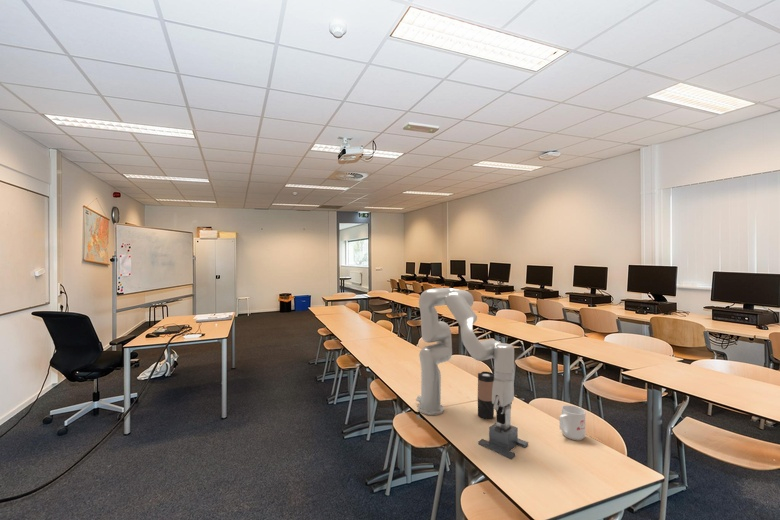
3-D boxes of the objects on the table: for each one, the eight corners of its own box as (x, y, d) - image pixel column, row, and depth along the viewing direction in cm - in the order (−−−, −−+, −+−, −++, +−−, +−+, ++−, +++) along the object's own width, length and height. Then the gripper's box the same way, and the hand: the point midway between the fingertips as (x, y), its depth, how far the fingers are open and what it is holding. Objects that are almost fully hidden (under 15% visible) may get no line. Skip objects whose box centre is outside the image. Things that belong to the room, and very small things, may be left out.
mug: (571, 428, 149) (571, 403, 149) (590, 438, 141) (590, 412, 141) (551, 434, 144) (551, 408, 144) (569, 444, 136) (570, 417, 136)
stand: (478, 444, 136) (478, 424, 136) (496, 432, 146) (496, 413, 146) (511, 459, 126) (511, 437, 126) (528, 445, 136) (528, 425, 136)
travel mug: (495, 420, 156) (495, 377, 156) (477, 419, 158) (478, 376, 158) (493, 413, 164) (493, 372, 164) (477, 411, 165) (477, 370, 165)
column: (495, 444, 136) (496, 404, 136) (501, 440, 139) (501, 401, 139) (505, 449, 133) (506, 408, 133) (510, 445, 136) (511, 405, 136)
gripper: (505, 368, 144) (505, 411, 144) (484, 377, 133) (483, 424, 133) (522, 372, 139) (522, 417, 139) (502, 383, 127) (501, 431, 127)
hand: (503, 420), depth 136 cm, fingers closed on column, 4 cm apart
